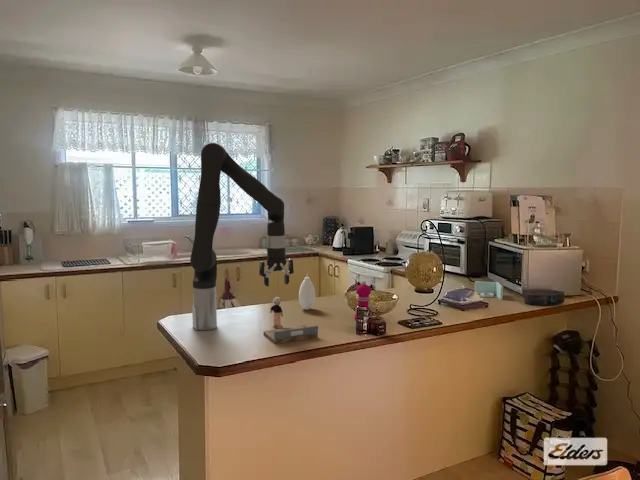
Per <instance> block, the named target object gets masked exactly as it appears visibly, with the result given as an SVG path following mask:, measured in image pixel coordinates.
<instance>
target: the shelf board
mask: <svg viewBox="0 0 640 480" xmlns="http://www.w3.org/2000/svg"><path fill="white" fill-rule="evenodd" d="M305 327H308V326H306V325H305V324H304V325H299V326H291V327H283V328H277V329H276V328H275V329H271V330H270V329H268V330H263V333H262V334H263V336H264V337H265V338H266V339H268V340H269V341H271V343H272V344H273V345H279V344H283V343H290V342H297V341H303V340H309V339H315V338H318V337H319V333H318V334H312V335H305V336H299V337H292V338H286V339H279V340H274V332H277V331H284V330H291V329H298V328H305Z"/></svg>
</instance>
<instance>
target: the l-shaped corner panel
mask: <svg viewBox="0 0 640 480" xmlns="http://www.w3.org/2000/svg"><path fill="white" fill-rule="evenodd" d="M474 290H475V291H476V292H477V293H478V294H477V295H480V296H481V298H486V299H491V298H494V295H495V296H496V298H498V300H500V301H503V297H504V296H503V295H504V285H502V284H501V283H500V282H499V281H478V280H476V281H474Z"/></svg>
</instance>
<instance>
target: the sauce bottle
mask: <svg viewBox="0 0 640 480" xmlns="http://www.w3.org/2000/svg"><path fill="white" fill-rule="evenodd" d="M308 274H309V273H308V272H306V276H305V277H304V279H303V281H302V282H301V284H300V287H299V291H298V302H299V305H300V307H302V308H303V309H304V310H305V311H308V310H310V309H311V308H312V307H313V306H314V305H315V302H316V291H315V290H316V289H315V286H314V284H313V282H312V280H311V277H309V275H308Z"/></svg>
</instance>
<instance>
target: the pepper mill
mask: <svg viewBox="0 0 640 480" xmlns="http://www.w3.org/2000/svg"><path fill="white" fill-rule="evenodd" d="M355 292H356V294H357V300H358V306H359V305H360V306H364V307H366V308H367V309H368V310H369V311H370V307H369V301H370V299H371V298H370V295H371V293H372V289H371V286H369V284H367V281H365V280H362V281H361V284H359V285H358V286H357V287H356V291H355ZM370 312H371V311H370ZM356 320H357V310H356V311H355V314H354V321H355V322H356Z"/></svg>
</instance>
